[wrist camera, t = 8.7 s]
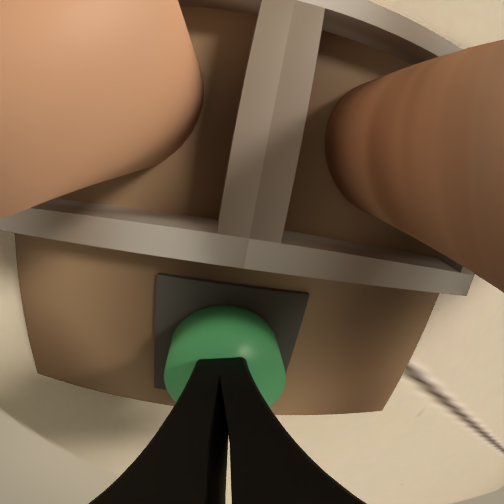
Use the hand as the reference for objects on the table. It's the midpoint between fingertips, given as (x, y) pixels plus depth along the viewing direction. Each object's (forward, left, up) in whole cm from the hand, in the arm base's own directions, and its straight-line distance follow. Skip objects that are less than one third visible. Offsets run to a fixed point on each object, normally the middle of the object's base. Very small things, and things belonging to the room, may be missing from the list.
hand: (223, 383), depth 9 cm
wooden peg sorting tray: (0, -5, -3) cm, 6 cm away
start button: (0, 0, -2) cm, 2 cm away
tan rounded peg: (+4, -8, -2) cm, 9 cm away
